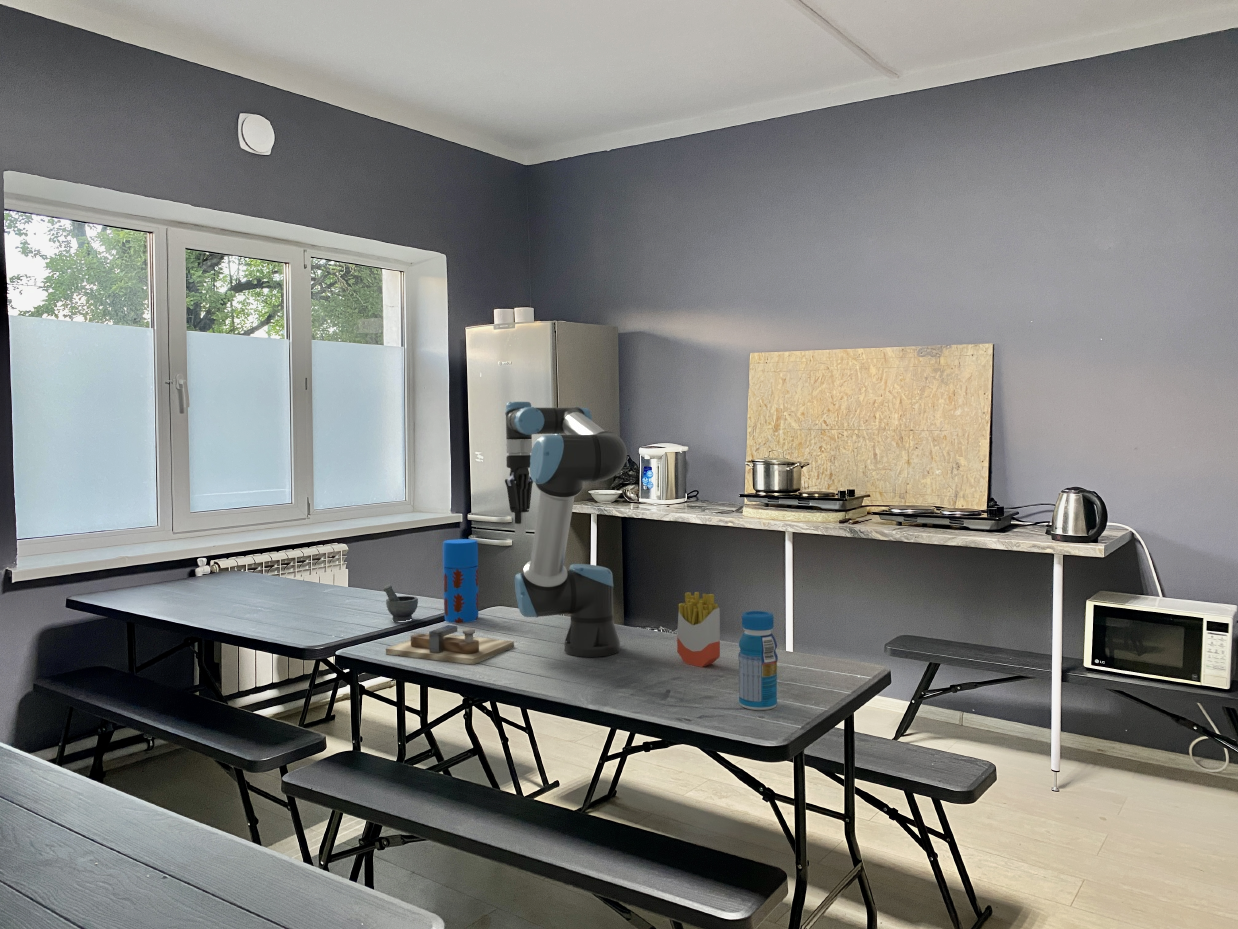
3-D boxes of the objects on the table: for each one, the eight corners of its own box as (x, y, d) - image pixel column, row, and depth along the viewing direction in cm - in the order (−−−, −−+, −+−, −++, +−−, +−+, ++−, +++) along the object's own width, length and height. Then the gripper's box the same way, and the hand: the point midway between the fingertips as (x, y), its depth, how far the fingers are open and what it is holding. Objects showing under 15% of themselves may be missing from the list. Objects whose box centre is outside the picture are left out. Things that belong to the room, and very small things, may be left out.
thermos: (475, 622, 275) (473, 543, 274) (441, 623, 275) (439, 543, 274) (481, 615, 285) (480, 538, 284) (448, 615, 286) (447, 539, 285)
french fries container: (708, 669, 219) (707, 598, 218) (676, 661, 227) (675, 592, 226) (720, 666, 222) (719, 595, 221) (688, 658, 230) (687, 590, 229)
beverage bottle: (737, 710, 187) (737, 617, 186) (738, 698, 195) (738, 609, 195) (778, 712, 186) (778, 618, 185) (777, 700, 194) (777, 610, 193)
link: (482, 650, 234) (482, 628, 234) (471, 654, 229) (470, 632, 229) (418, 642, 243) (418, 621, 243) (406, 646, 239) (405, 625, 239)
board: (513, 646, 244) (513, 641, 244) (473, 664, 226) (473, 658, 226) (430, 637, 255) (430, 632, 255) (385, 654, 237) (385, 648, 237)
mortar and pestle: (408, 615, 286) (408, 579, 286) (423, 620, 279) (423, 582, 279) (377, 621, 278) (376, 583, 278) (391, 625, 272) (390, 587, 271)
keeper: (457, 646, 239) (457, 626, 239) (438, 653, 231) (438, 632, 231) (448, 645, 240) (448, 625, 240) (429, 652, 233) (429, 631, 232)
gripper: (519, 453, 265) (520, 531, 266) (496, 455, 253) (497, 536, 254) (541, 453, 262) (542, 532, 263) (518, 455, 250) (520, 537, 251)
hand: (520, 534), depth 258 cm, fingers closed
